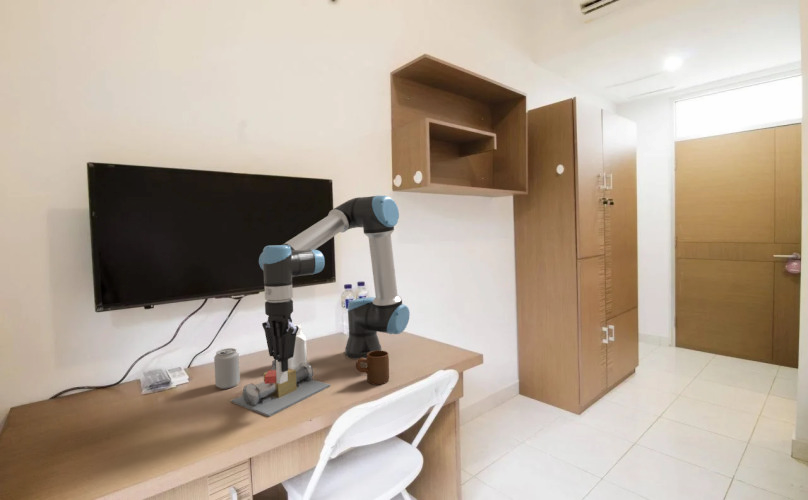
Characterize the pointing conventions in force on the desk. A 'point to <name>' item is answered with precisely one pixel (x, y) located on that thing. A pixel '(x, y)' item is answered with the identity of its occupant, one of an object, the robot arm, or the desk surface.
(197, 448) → the desk surface
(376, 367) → the mug
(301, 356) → the jar
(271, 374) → the lever
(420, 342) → the desk surface
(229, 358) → the can
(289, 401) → the mat
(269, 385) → the valve
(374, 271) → the robot arm
